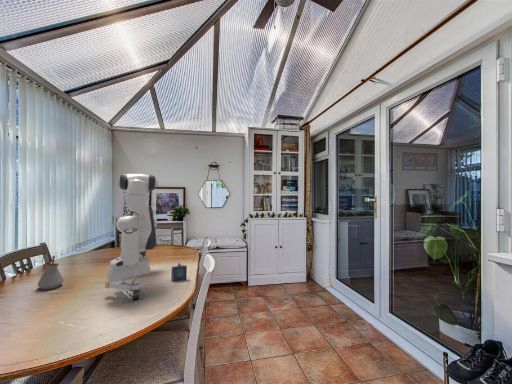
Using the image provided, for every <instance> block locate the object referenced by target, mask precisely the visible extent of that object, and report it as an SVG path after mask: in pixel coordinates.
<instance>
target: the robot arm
mask: <svg viewBox="0 0 512 384" xmlns="http://www.w3.org/2000/svg"><path fill="white" fill-rule="evenodd" d="M117 180H118V186H119V189H121V190H123V191H126V193H125V206H126V208H127V209H128V210H130V211H132V212H133V213H135V214H138V215H124V216H119V217H118V219H117V221H116V224H115V226H116V229H117V230H118V231H119V232H121V237H120V240H119V241H120V242H119V243H120V245H119V247H120V249H121V251H120V255H119V256H118V257H116V258H114V259H112V260H110V262H109V265H110V266H109V267H108V270H107V281H110V282H119V281H121V282H122V283H127V282H126V281H127V279H131V278H133V279H132V280H131V281H130V283H132V284H136V281H137V279H138V277H140V276H144V275H147V274H149V273H150V272H151V266H150V262H151V261H150V258H149V257H148V256H147V250H148V251H153V250H155V248H156V247H157V246H158V243H159V238H158V235H157V234H158V233H157V231H156V228H157V226H158V225H157V224H158V220H157V218H156V216H154V212H153V208H152V206H151V205H150V204H149V203H148V192H151V191H154V190H156V187H157V184H158V182H157V178H156V176H154V175H153V174H145V173H122V174H120V175H119V178H118V179H117Z"/></svg>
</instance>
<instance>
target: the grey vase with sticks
mask: <svg viewBox="0 0 512 384" xmlns="http://www.w3.org/2000/svg"><path fill="white" fill-rule="evenodd" d="M51 259H52V260H51V263H48V264H45V265H44V266H43V267H44V271H43V273H42V276H41V277H40V279H39V281H38V283H37V287H38V288H39V289H41V290H45V291H47V290H53V289H57V288H59V287H60V286H61V285H62V284H63V283H64V278H63V276H62V274H61V272H60V271H59V269H58V267H59V265H60V263H55V259H56V255H53V256H52V257H51Z"/></svg>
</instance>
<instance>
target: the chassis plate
mask: <svg viewBox="0 0 512 384" xmlns="http://www.w3.org/2000/svg"><path fill="white" fill-rule="evenodd" d="M123 291H126V290H121V291H118V292H114V295H115V296H116V297H117V299H119V301H120V302H121V303H122V304H123V305H127V304H131V303H134V302H137V301H140V300H141V301H142V300H145V299H149V298H150V296H149V295H148V294H147V293H146V292H144V291H143V290H142V289H141V290H139V300H135V301H134V300H133V298H130V299H129V298H128V297H127V296H126V295H125V294H124V293H123ZM131 294H132V293H131ZM127 295H128V294H127Z"/></svg>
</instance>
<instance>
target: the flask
mask: <svg viewBox="0 0 512 384" xmlns="http://www.w3.org/2000/svg"><path fill="white" fill-rule="evenodd" d="M187 267H188V266H187V265H186V264H181V263H180V262H178V263H177V265H172V266H171V277H170V278H171V279H170V280H171V282H179V281H186V280H187V278H188V277H187V274H188V271H187Z"/></svg>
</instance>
